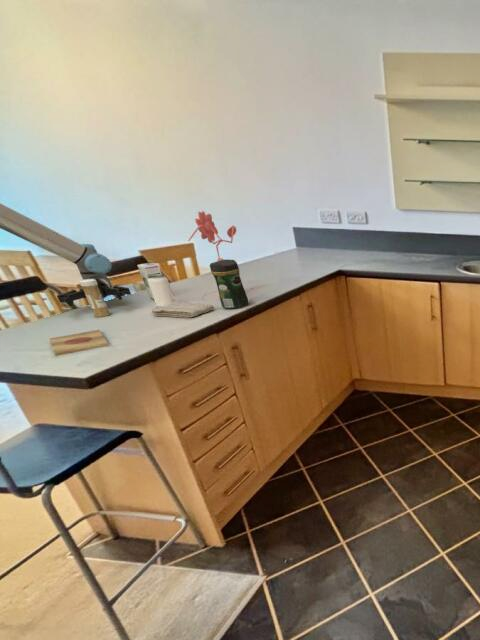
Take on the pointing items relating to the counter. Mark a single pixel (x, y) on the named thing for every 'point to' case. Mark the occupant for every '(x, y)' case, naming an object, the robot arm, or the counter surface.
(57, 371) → the counter surface
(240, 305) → the coffee jar
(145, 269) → the syrup box
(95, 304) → the sprinkles bottle
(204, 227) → the red flower
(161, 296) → the can
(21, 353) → the counter surface
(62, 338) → the mat
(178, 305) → the washcloth
